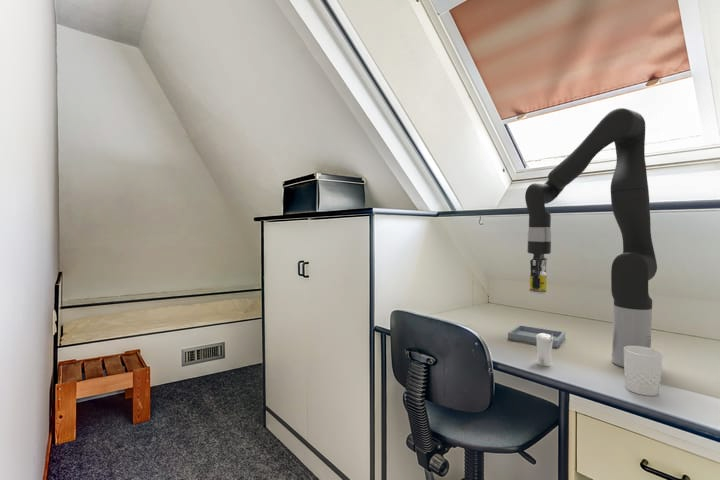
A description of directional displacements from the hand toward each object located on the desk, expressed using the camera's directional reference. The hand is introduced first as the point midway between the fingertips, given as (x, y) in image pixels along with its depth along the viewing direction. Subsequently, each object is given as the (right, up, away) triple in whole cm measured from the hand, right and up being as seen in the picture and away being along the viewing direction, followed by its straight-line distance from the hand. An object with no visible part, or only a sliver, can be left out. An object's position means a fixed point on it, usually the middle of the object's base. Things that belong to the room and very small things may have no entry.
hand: (538, 287), depth 138 cm
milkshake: (-9, -20, -25) cm, 33 cm away
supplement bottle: (0, -2, 0) cm, 2 cm away
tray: (0, -19, +1) cm, 19 cm away
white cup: (+7, -21, -42) cm, 47 cm away
